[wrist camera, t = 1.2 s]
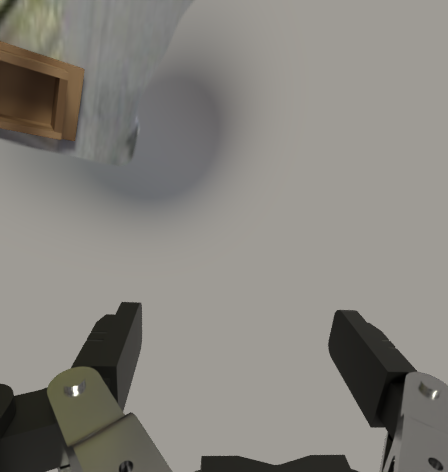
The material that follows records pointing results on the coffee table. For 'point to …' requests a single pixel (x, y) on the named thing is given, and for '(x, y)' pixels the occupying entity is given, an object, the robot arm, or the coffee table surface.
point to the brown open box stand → (38, 93)
